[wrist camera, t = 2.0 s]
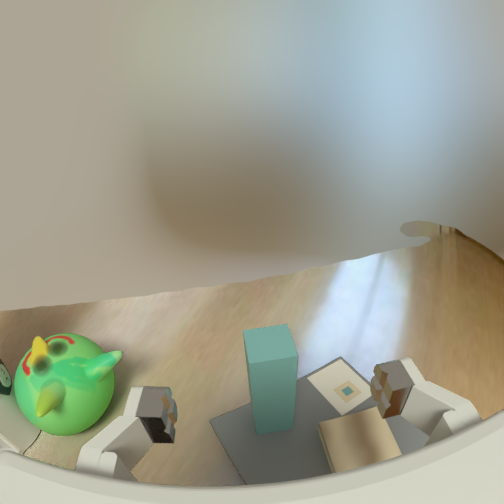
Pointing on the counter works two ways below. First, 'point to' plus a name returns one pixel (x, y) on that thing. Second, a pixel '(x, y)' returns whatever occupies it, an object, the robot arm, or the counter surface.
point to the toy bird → (65, 383)
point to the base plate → (297, 440)
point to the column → (271, 377)
